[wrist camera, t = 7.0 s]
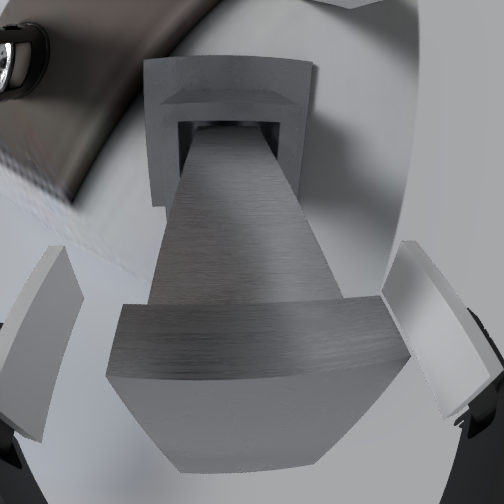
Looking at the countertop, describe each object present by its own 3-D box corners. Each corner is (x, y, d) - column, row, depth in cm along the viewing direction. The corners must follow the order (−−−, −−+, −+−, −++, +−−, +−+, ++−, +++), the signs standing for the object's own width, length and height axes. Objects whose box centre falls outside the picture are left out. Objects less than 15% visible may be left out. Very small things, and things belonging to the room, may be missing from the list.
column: (197, 110, 20) (105, 375, 3) (258, 110, 20) (411, 356, 4) (198, 194, 24) (180, 472, 8) (253, 193, 24) (313, 464, 8)
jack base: (145, 59, 23) (99, 61, 13) (309, 61, 24) (363, 65, 15) (154, 202, 32) (128, 272, 22) (294, 201, 34) (325, 268, 24)
